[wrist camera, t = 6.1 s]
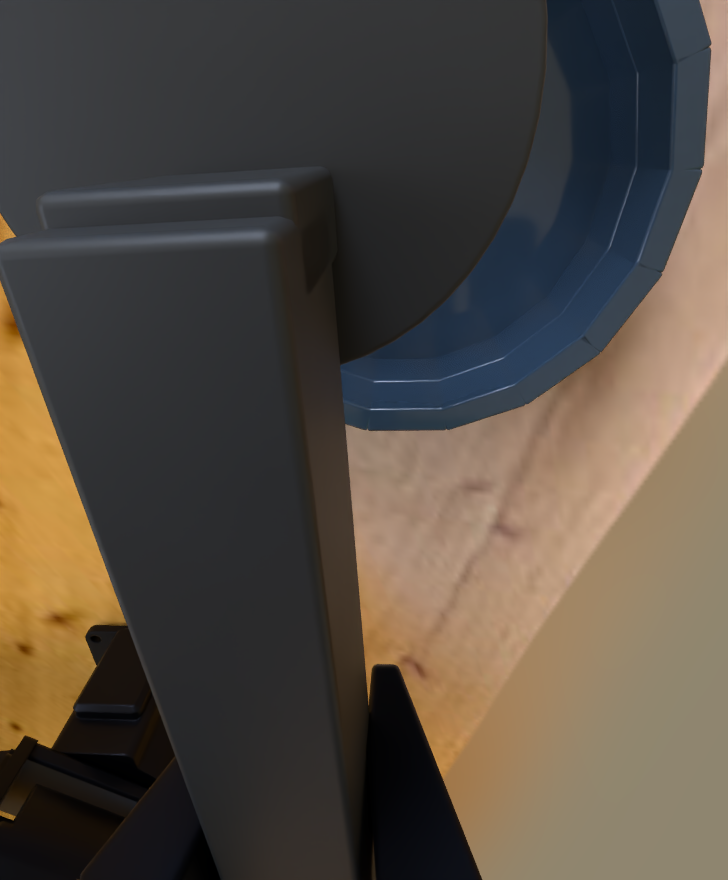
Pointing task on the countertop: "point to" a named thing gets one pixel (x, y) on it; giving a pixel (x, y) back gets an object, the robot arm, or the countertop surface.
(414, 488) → the countertop surface
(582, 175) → the bowl
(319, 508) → the dark grey handle
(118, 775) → the robot arm
